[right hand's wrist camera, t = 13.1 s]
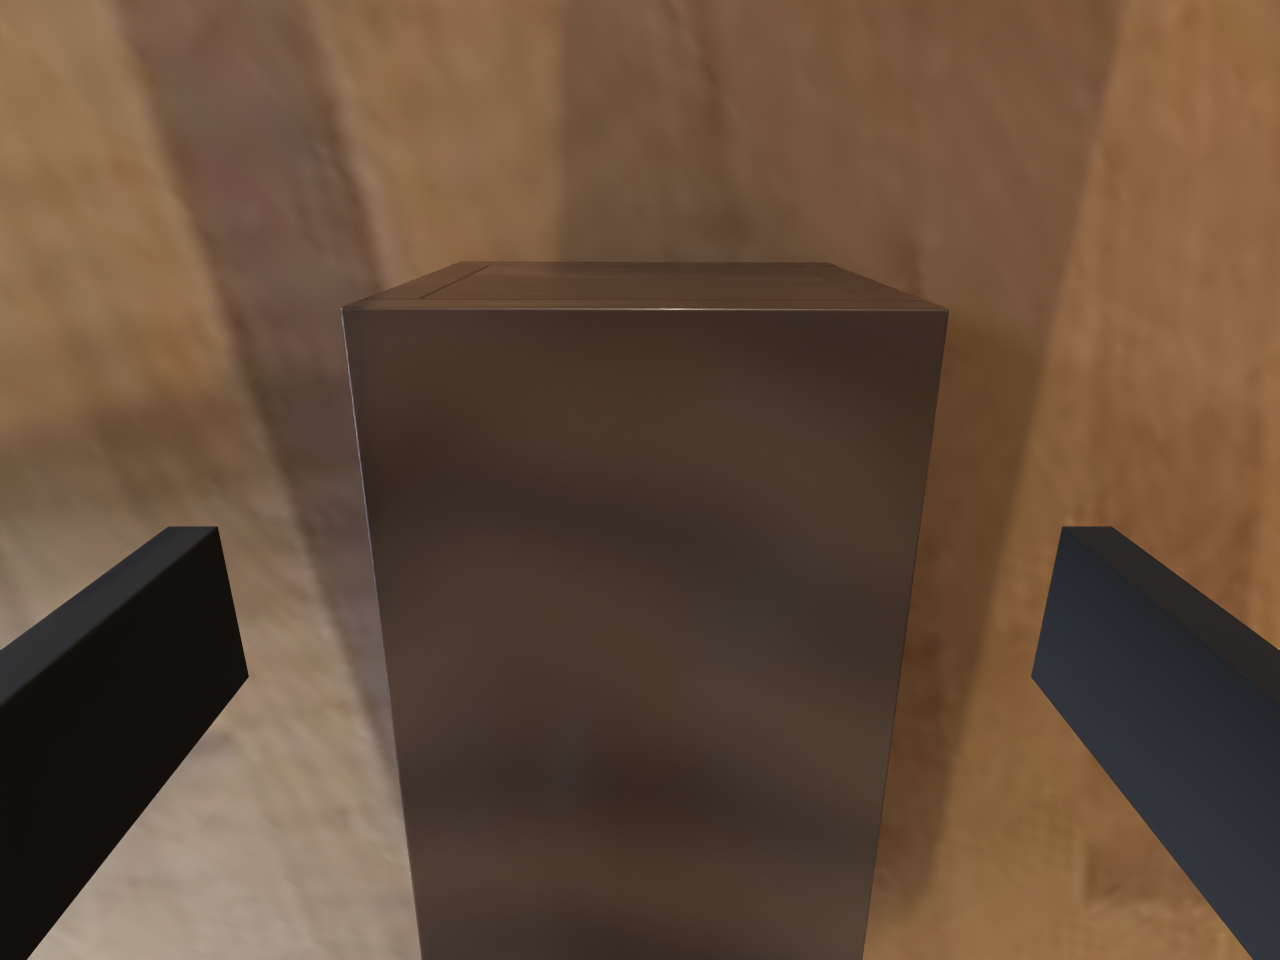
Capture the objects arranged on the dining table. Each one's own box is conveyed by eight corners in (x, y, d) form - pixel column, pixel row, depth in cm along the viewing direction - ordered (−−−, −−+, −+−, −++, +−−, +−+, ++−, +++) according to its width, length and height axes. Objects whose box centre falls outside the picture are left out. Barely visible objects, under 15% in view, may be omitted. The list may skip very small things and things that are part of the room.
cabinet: (781, 860, 29) (838, 1140, 21) (502, 859, 29) (443, 1138, 21) (829, 262, 22) (950, 308, 13) (458, 261, 22) (338, 306, 13)
